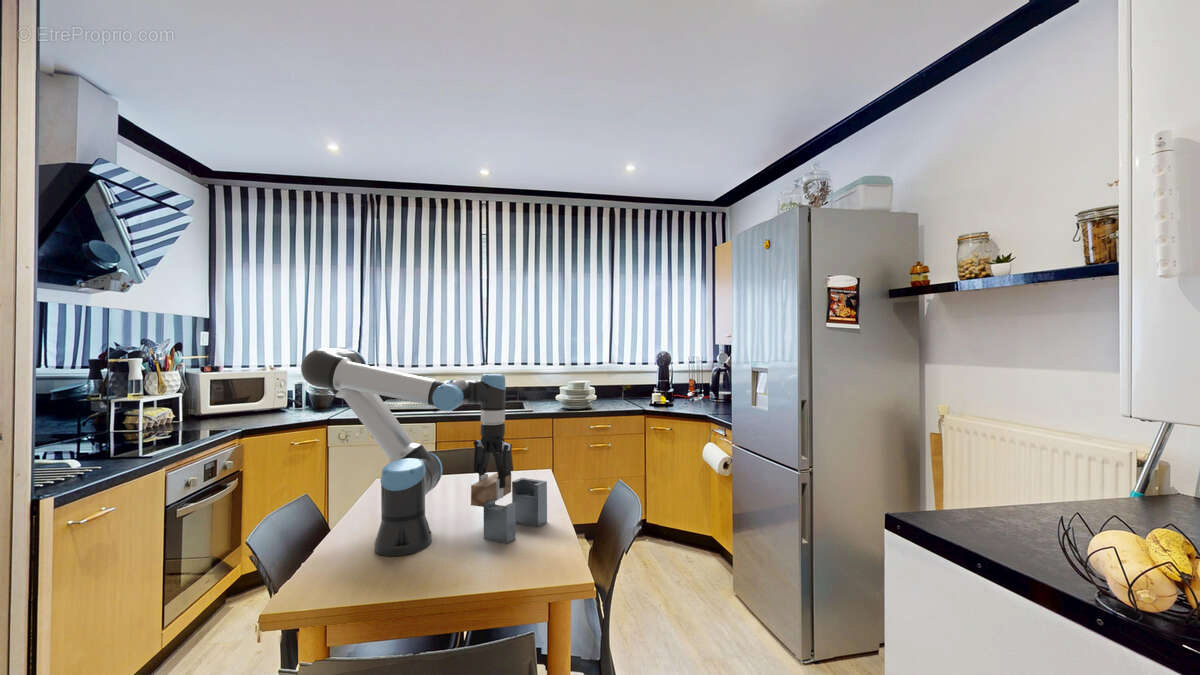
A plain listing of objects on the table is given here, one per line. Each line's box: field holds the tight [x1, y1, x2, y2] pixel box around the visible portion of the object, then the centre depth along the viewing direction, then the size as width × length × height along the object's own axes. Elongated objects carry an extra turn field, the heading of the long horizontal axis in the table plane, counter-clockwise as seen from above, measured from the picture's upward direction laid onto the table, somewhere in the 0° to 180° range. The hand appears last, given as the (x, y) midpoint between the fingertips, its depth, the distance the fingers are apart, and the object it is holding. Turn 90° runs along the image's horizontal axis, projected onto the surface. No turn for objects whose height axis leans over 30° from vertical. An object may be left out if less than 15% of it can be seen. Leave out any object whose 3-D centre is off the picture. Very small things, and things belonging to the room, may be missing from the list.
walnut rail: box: [470, 472, 512, 508], centre depth 153 cm, size 5×16×6 cm, turn 162°
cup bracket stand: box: [483, 477, 548, 545], centre depth 149 cm, size 10×20×13 cm, turn 152°
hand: (491, 496), depth 153 cm, fingers closed on walnut rail, 6 cm apart
